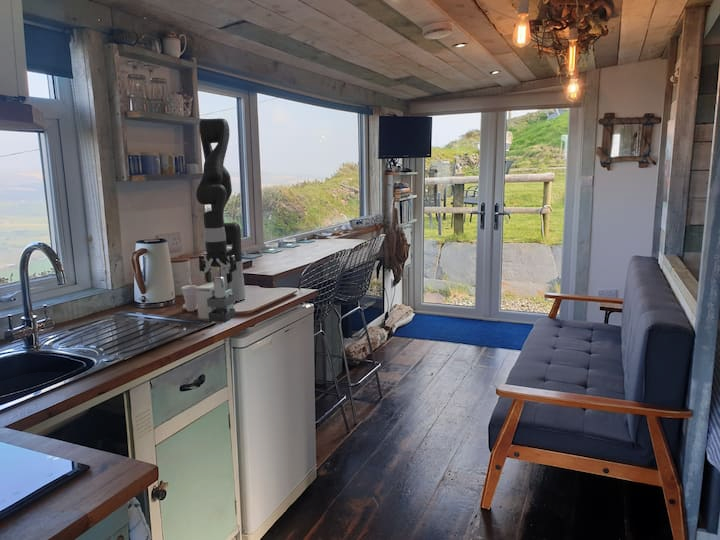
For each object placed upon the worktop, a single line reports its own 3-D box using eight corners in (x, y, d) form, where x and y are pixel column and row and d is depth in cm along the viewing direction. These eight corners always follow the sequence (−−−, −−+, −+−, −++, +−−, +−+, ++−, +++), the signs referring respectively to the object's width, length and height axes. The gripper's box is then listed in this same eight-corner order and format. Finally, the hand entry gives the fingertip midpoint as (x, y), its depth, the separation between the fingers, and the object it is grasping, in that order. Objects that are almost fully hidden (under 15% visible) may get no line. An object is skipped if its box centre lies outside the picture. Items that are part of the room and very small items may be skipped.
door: (214, 319, 203) (211, 278, 200) (227, 312, 213) (224, 272, 210) (224, 320, 202) (220, 278, 199) (237, 312, 212) (233, 273, 209)
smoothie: (197, 312, 215) (193, 277, 212) (181, 312, 215) (177, 278, 212) (202, 307, 221) (198, 274, 218) (186, 308, 221) (183, 274, 218)
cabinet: (211, 310, 216) (209, 281, 213) (241, 312, 213) (239, 282, 210) (194, 320, 204) (191, 289, 201) (226, 321, 201) (223, 290, 198)
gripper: (237, 238, 201) (241, 280, 204) (203, 237, 204) (207, 279, 207) (228, 241, 193) (231, 285, 197) (192, 241, 197) (196, 284, 200)
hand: (219, 282), depth 202 cm, fingers open, 8 cm apart
